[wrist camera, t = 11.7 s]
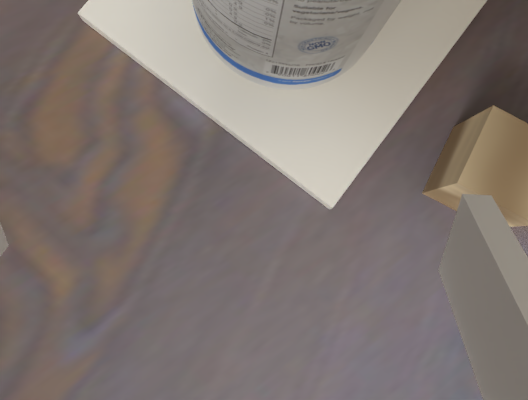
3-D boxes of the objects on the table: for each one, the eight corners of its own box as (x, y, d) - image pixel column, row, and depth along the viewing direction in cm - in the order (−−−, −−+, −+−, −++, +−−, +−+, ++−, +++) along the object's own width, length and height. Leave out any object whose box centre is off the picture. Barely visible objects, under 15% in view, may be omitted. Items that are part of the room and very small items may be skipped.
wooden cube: (421, 193, 25) (457, 183, 21) (453, 124, 26) (494, 102, 22) (488, 228, 25) (536, 224, 21) (519, 159, 26) (572, 143, 22)
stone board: (82, 20, 25) (77, 12, 24) (247, -169, 26) (248, -182, 26) (329, 209, 25) (332, 208, 24) (479, 7, 26) (487, -1, 26)
